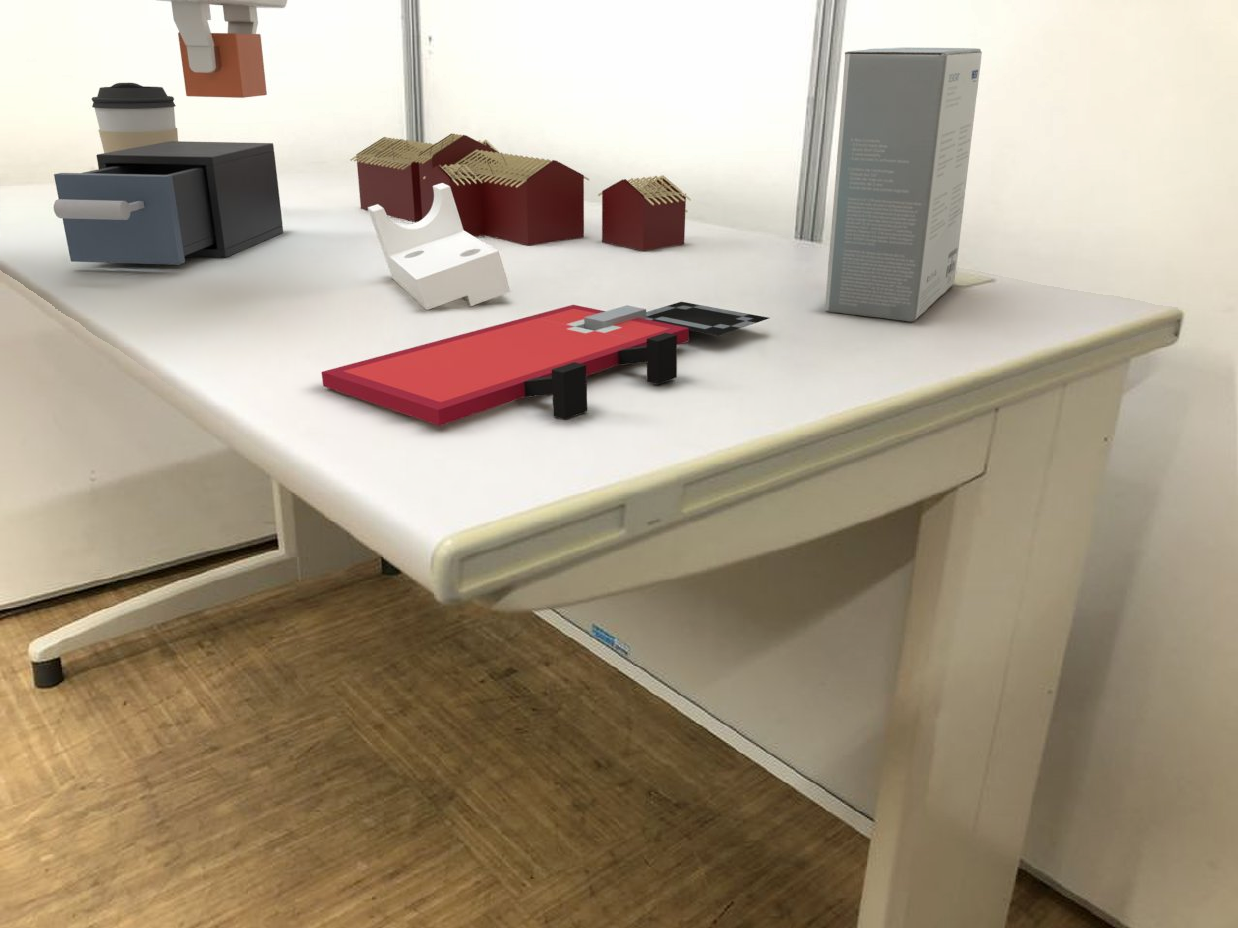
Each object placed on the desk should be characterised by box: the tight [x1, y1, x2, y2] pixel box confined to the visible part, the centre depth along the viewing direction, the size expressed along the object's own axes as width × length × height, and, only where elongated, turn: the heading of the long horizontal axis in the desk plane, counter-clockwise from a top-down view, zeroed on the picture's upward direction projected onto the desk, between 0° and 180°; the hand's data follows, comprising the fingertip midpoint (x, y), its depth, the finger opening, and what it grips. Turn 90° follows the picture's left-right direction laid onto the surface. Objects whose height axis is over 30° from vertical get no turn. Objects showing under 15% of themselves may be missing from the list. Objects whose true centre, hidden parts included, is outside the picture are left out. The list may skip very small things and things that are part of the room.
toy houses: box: [349, 133, 692, 252], centre depth 118 cm, size 45×20×10 cm, turn 42°
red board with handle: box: [321, 301, 770, 427], centre depth 69 cm, size 30×3×15 cm
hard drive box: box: [824, 47, 983, 322], centre depth 84 cm, size 16×8×20 cm, turn 152°
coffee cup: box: [91, 82, 179, 153], centre depth 123 cm, size 9×9×15 cm
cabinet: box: [96, 140, 284, 259], centre depth 106 cm, size 15×12×10 cm
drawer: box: [53, 164, 216, 266], centre depth 97 cm, size 18×10×8 cm, turn 175°
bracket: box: [367, 183, 512, 311], centre depth 87 cm, size 13×7×8 cm, turn 24°
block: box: [177, 31, 268, 99], centre depth 77 cm, size 4×4×4 cm
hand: (223, 71), depth 77 cm, fingers closed on block, 4 cm apart
